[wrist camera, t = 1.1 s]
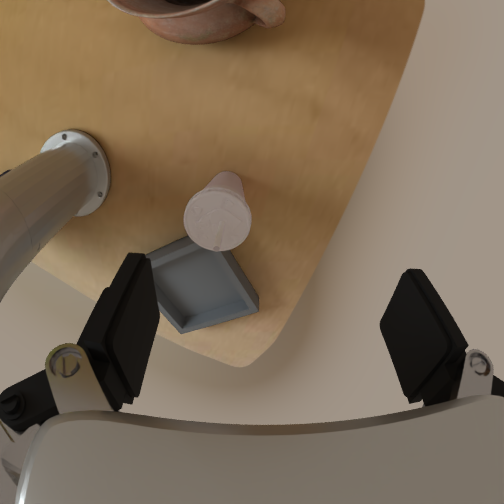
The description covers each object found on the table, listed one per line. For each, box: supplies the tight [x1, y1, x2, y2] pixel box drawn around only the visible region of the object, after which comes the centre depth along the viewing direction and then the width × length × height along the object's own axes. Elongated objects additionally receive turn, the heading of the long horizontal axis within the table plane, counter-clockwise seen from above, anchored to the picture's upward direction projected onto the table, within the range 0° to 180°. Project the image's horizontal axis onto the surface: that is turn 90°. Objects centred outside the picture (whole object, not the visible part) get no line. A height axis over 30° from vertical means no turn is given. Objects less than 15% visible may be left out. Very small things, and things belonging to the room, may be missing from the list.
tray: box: [145, 235, 259, 334], centre depth 42 cm, size 14×14×3 cm
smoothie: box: [184, 171, 252, 252], centre depth 29 cm, size 6×6×14 cm
